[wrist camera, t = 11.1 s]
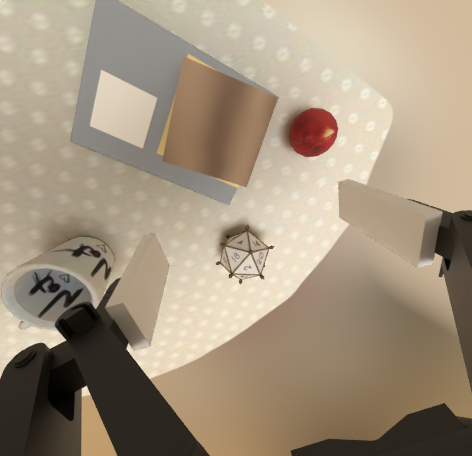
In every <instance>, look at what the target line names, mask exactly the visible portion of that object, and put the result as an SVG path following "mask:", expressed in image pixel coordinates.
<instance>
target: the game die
mask: <svg viewBox="0 0 472 456" xmlns="http://www.w3.org/2000/svg"><path fill="white" fill-rule="evenodd" d="M248 230H249V226H248V225H247V227H246V231H244V232H242V233H239V234H237V235H235V236H232V237H230V236H229V235H226V237H227V238H228V240H227V242H226V243H225V244H224V243H220V246H223V251H222V255H221V260H220V262H217V263H216V265H219V264H221V265H222V266H224V267H225V268H226V269H227V270H228V271H229V272H230V273H231V274H229V278H232V276H233V275H234V276H235V277H237V278H239V279H240V280H239V283H240V284H241V283H242V279H247V278H251V277H256V276H260V278H261V279H264V276H263V275H261V274H262V270H263V267H265V261H266V258H267V254H268V251H269V249H273V248H274V247H275V246H272V245H271V246H270V247H268V246H266V245H265V244H264V243H263V242H262V241H260V240H259V239H258V238H257V237H255V236H254V235H253V234H252V233H250V232H249V231H248Z"/></svg>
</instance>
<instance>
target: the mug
mask: <svg viewBox="0 0 472 456" xmlns="http://www.w3.org/2000/svg"><path fill="white" fill-rule="evenodd" d="M113 265H114V257H113V253H112V251H111V250H110V248H109V247H108V246H107V245H106V244H105V243H103V242H102V241H100V240H98V239H95V238H91V237H77V238H73V239H71V240H69V241H67V242H65V243H63V244H61V245H59V246H57V247H55V248H53V249H51V250H49V251H47V252H45V253H44V254H42V255H40V256H38V257H36V258H34V259H32V260H30V261H28V262H26V263H24V264H22V265H20V266H18V267H17V268H16V269H14V270H13V271H11V272H10V273H8V274H7V276H6V277H5V279H4V281H3V283H2V285H1V298H2V300H3V302H4V304H5V307H6V308H7V309H8V310H9V311H10V312H11V313H12V314H13V315H14V316H15V317H16V318H18V319H20V320H21V322H20V324H19V328H20V329H26V328H28V327H29V326H30V325H32V326H35V327H37V328H40V329H47V330H54V331H58V330H57V329H56V327H55V322H56V321H57V319H58V318H59V317H60V316H61V315H62V314H63V313H64V312H65V311H67V310H68V309H69V308H71V307H73V306H75V305H76V304H79V303H82V302H90V303H92V305H93V306H94V307H95V309H96V308H97V307H98V305H99V303H100V301H101V300H102V297H103V295H104V292H105V289H106V286H107V283H108V280H109V277H110V274H111V271H112V268H113Z"/></svg>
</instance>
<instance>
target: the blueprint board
mask: <svg viewBox="0 0 472 456" xmlns="http://www.w3.org/2000/svg"><path fill="white" fill-rule="evenodd" d="M183 56H184V57H186V58H189V59H191V60H193V61H196V62H198V63H200V64H202V65H205V66H207V67H209V68H212V69H214V70H216V71H219V72H221V73H223V74H225V75H228V76H230V77H232V78H235V79H237V80H239V81H242V82H244V83H246V84H248V85H251V86H253V87H255V88H258V89H260V90H262V91H265V92H267V93H269V94H271V95H274V94H272V93H271V92H269V91H267V90H266V89H264V88H262V87H261V86H259V85H257V84H256V83H254V82H252V81H251V80H249V79H247V78H246V77H244V76H242V75H241V74H239V73H237V72H236V71H234V70H232V69H231V68H229V67H227V66H226V65H224V64H222V63H221V62H219V61H217V60H216V59H214V58H212V57H211V56H209V55H208V54H206V53H204V52H203V51H201V50H199V49H198V48H196V47H194V46H193V45H191V44H189V43H188V42H186V41H184V40H183V39H181V38H179V37H178V36H176V35H174V34H173V33H171V32H169V31H168V30H166V29H164V28H163V27H161V26H159V25H158V24H156V23H154V22H153V21H151V20H149V19H148V18H146V17H144V16H143V15H141V14H139V13H138V12H136V11H134V10H133V9H131V8H129V7H128V6H126V5H124V4H123V3H121V2H119V1H118V0H96V2H95V8H94V13H93V19H92V24H91V30H90V35H89V41H88V46H87V51H86V57H85V62H84V68H83V73H82V79H81V84H80V90H79V95H78V101H77V106H76V112H75V117H74V123H73V128H72V134H71V139H70V142H73V143H75V144H78V145H80V146H83V147H85V148H88V149H90V150H93V151H95V152H98V153H100V154H103V155H105V156H108V157H110V158H113V159H115V160H118V161H120V162H123V163H125V164H128V165H130V166H133V167H135V168H138V169H140V170H143V171H145V172H148V173H150V174H153V175H155V176H158V177H160V178H163V179H165V180H167V181H170V182H172V183H175V184H177V185H180V186H182V187H185V188H187V189H190V190H192V191H195V192H197V193H200V194H202V195H205V196H207V197H210V198H212V199H215V200H217V201H220V202H222V203H225V204H227V205H229V204H230V202H231V200H232V198H233V196H234V193H235V191H236V189H237V188H238V186H239V185H238V184H234V183H231V182H228V181H225V180H221V179H218V178H215V177H212V176H208V175H205V174H202V173H199V172H195V171H192V170H189V169H185V168H182V167H179V166H176V165H172V164H169V163H166V162H163V161H162V159H163V154H164V149H165V145H166V140H167V135H168V130H169V125H170V120H171V115H172V110H173V105H174V100H175V95H176V90H177V85H178V80H179V75H180V70H181V65H182V60H183ZM274 96H276V95H274ZM276 97H277V96H276ZM278 98H279V97H278ZM277 101H278V99H277ZM276 103H277V102H276ZM275 106H276V105H275Z"/></svg>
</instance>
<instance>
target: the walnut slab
mask: <svg viewBox="0 0 472 456" xmlns="http://www.w3.org/2000/svg"><path fill="white" fill-rule="evenodd" d="M277 99H278V97H276V96H274V95H271V94H269V93H267V92H265V91H262V90H260V89H258V88H255V87H253V86H251V85H248V84H246V83H244V82H242V81H239V80H237V79H235V78H232V77H230V76H228V75H225V74H223V73H221V72H219V71H216V70H214V69H212V68H209V67H207V66H205V65H202V64H200V63H198V62H196V61H193V60H191V59H189V58H186V57H184V56H183V60H182V65H181V70H180V75H179V80H178V85H177V90H176V95H175V100H174V105H173V110H172V115H171V120H170V125H169V130H168V135H167V140H166V145H165V149H164V154H163V159H162V161H163V162H166V163H169V164H172V165H176V166H179V167H182V168H185V169H189V170H192V171H195V172H199V173H202V174H205V175H208V176H212V177H215V178H218V179H221V180H225V181H228V182H231V183H234V184H238V185H241V186H244V187H247V184H248V181H249V179H250V176H251V173H252V170H253V167H254V164H255V162H256V159H257V156H258V153H259V150H260V147H261V144H262V142H263V139H264V136H265V133H266V130H267V127H268V125H269V122H270V119H271V116H272V113H273V110H274V108H275V105H276V102H277Z"/></svg>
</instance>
